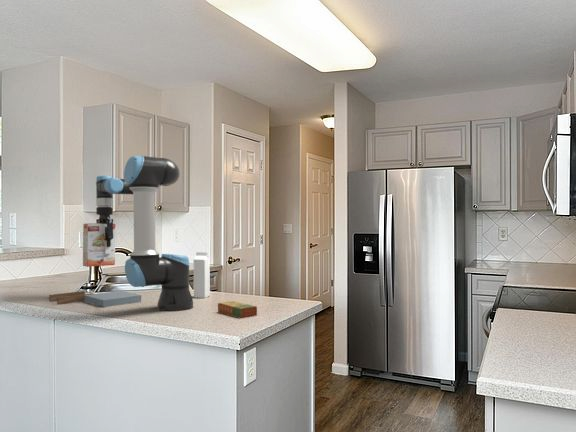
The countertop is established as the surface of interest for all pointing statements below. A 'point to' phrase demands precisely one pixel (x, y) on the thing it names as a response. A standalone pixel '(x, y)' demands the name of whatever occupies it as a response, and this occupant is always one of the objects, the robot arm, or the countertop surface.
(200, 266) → the milk
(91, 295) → the slate board
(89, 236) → the cracker box
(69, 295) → the slot rack
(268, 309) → the countertop surface
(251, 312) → the carton
